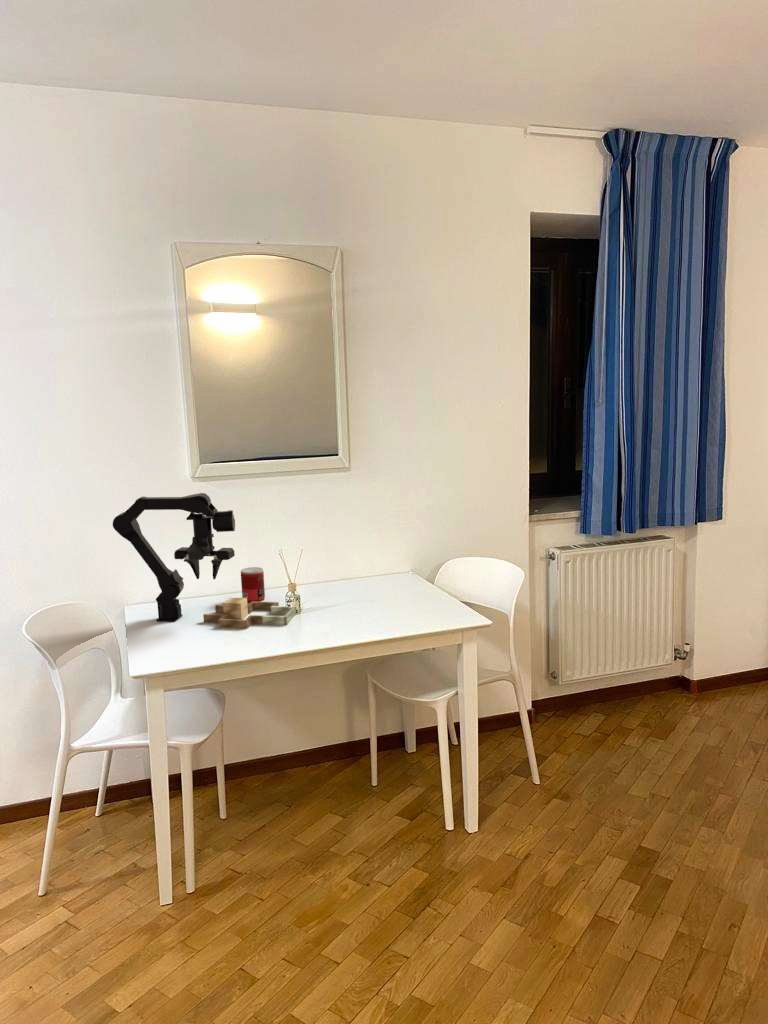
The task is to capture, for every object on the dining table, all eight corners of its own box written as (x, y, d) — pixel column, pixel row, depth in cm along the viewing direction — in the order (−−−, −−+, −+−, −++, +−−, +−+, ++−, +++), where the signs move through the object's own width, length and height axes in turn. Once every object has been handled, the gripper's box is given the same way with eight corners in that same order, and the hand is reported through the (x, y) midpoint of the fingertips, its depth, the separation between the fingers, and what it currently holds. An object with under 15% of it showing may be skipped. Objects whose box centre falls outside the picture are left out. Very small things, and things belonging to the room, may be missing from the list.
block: (224, 620, 247) (223, 603, 246) (230, 614, 253) (229, 597, 252) (241, 621, 246) (240, 603, 245) (248, 615, 252) (247, 598, 251)
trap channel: (198, 626, 242) (197, 619, 241) (221, 607, 261) (221, 600, 261) (282, 629, 237) (282, 621, 236) (300, 609, 256) (300, 602, 256)
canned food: (263, 602, 266) (261, 572, 264) (240, 603, 266) (238, 572, 264) (266, 596, 273) (265, 566, 271) (244, 596, 273) (242, 567, 271)
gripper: (164, 537, 240) (168, 585, 243) (220, 538, 237) (224, 586, 240) (180, 530, 251) (183, 576, 254) (233, 530, 248) (236, 577, 250)
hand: (206, 579), depth 249 cm, fingers open, 5 cm apart
